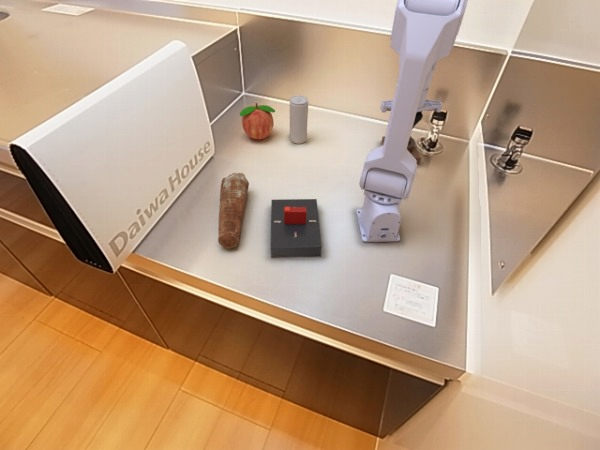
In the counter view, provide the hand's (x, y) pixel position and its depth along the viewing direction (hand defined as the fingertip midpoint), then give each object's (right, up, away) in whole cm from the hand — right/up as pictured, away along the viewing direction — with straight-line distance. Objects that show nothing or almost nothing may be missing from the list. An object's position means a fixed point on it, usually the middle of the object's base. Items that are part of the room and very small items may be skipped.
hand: (403, 136), depth 96 cm
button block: (0, -4, +4) cm, 6 cm away
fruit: (-38, +2, +9) cm, 39 cm away
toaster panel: (-28, -24, -17) cm, 41 cm away
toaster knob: (-28, -22, -19) cm, 40 cm away
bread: (-41, -22, -14) cm, 49 cm away
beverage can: (-27, +1, +8) cm, 28 cm away
